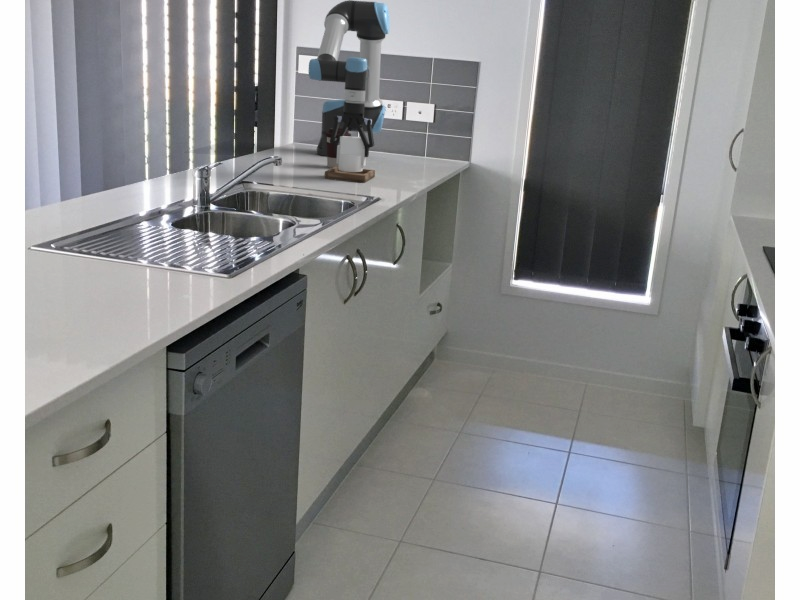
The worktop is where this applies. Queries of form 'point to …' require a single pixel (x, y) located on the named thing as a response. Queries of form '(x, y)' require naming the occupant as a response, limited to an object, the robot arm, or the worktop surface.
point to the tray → (350, 175)
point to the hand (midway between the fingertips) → (350, 164)
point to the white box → (350, 154)
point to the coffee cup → (332, 148)
